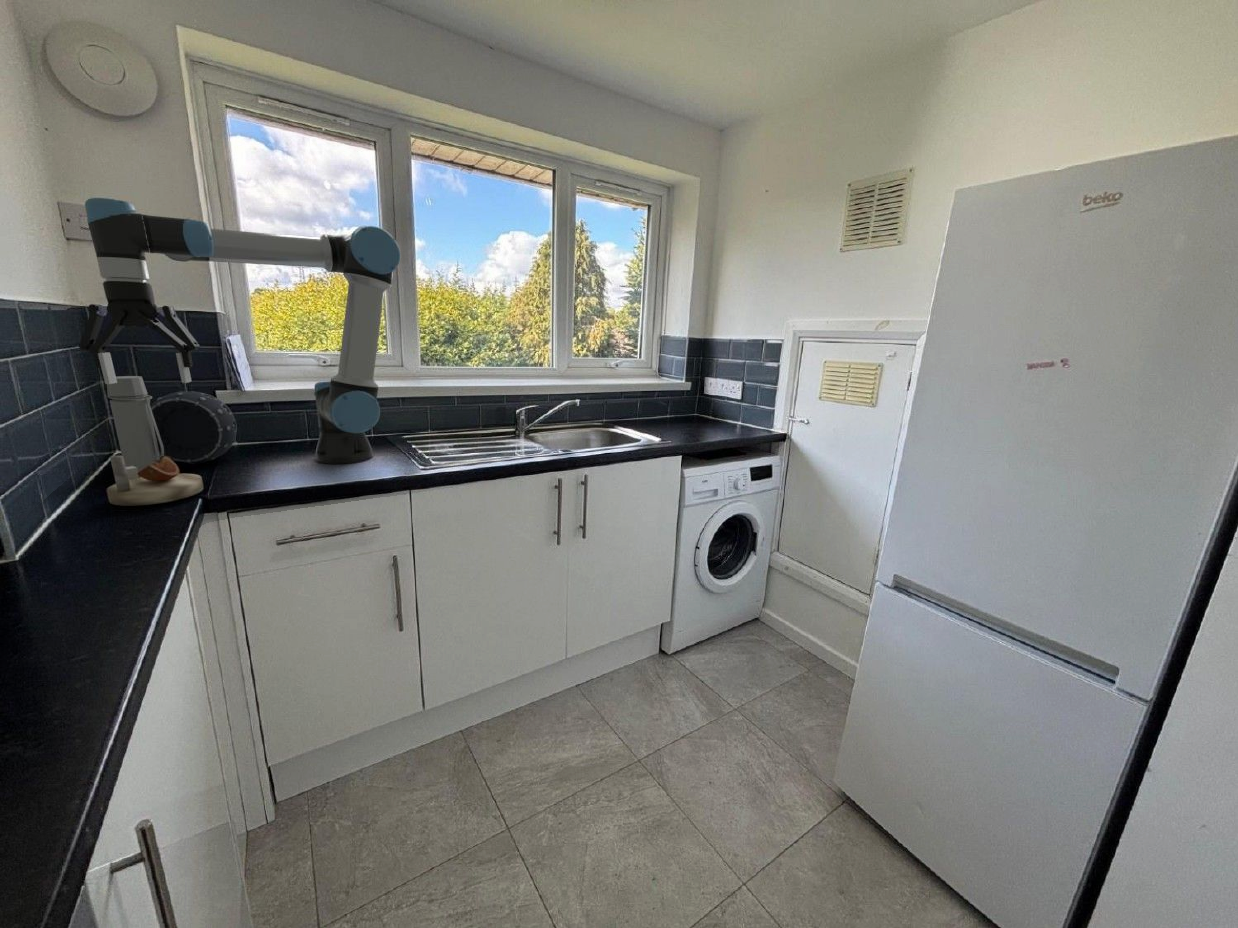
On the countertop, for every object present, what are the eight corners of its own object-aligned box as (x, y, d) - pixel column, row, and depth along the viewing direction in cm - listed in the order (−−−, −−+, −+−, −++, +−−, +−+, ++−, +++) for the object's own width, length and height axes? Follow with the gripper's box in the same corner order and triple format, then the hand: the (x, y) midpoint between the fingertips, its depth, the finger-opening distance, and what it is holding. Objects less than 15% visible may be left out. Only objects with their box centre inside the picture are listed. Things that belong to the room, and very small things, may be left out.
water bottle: (116, 478, 129) (93, 378, 122) (142, 470, 136) (121, 375, 130) (156, 478, 130) (135, 379, 123) (179, 470, 137) (160, 376, 131)
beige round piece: (164, 479, 126) (156, 439, 124) (220, 488, 121) (213, 446, 118) (82, 498, 111) (71, 454, 109) (141, 509, 106) (131, 463, 104)
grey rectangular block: (141, 487, 123) (137, 467, 121) (127, 490, 120) (123, 469, 119) (136, 485, 124) (132, 466, 122) (123, 488, 122) (118, 468, 120)
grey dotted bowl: (231, 465, 144) (219, 393, 139) (144, 468, 138) (128, 394, 133) (246, 456, 154) (235, 389, 148) (165, 459, 148) (151, 389, 143)
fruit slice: (169, 485, 114) (165, 464, 113) (131, 487, 112) (126, 465, 110) (186, 475, 121) (182, 455, 120) (151, 476, 119) (147, 456, 118)
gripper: (205, 284, 115) (223, 380, 120) (63, 280, 107) (89, 382, 113) (189, 282, 108) (209, 383, 113) (37, 277, 100) (66, 386, 106)
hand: (149, 383), depth 113 cm, fingers open, 13 cm apart
